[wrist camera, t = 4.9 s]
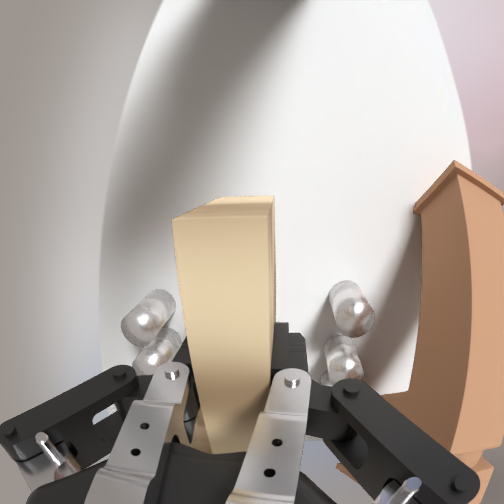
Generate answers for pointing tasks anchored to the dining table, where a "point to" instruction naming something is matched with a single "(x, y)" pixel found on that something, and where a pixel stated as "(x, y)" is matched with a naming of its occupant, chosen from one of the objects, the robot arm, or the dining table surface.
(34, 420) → the robot arm
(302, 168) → the dining table surface
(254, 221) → the wooden l-bracket
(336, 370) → the spacers
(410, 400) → the tan tall stepped post
